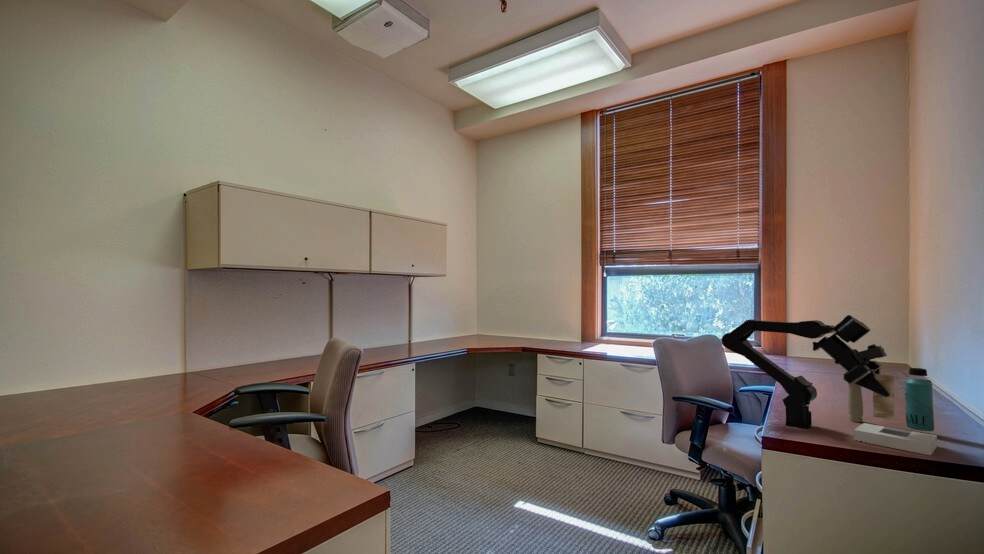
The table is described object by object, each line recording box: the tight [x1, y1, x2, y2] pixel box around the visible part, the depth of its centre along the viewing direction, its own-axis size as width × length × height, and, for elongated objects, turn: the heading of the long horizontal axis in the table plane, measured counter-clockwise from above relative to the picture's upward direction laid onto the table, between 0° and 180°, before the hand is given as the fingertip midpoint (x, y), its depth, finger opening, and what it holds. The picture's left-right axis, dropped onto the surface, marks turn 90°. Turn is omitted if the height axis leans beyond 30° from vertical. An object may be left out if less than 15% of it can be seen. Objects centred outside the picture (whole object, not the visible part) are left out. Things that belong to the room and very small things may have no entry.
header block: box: [853, 422, 938, 456], centre depth 127 cm, size 16×12×3 cm
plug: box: [872, 373, 896, 420], centre depth 129 cm, size 4×4×12 cm
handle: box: [842, 374, 864, 423], centre depth 151 cm, size 5×6×15 cm
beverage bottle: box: [904, 367, 935, 432], centre depth 137 cm, size 6×7×20 cm
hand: (889, 395), depth 128 cm, fingers closed on plug, 4 cm apart
